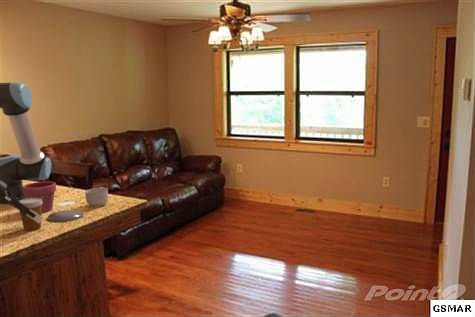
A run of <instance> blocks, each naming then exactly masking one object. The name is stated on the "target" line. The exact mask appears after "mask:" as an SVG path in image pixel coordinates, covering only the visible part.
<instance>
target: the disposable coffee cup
mask: <svg viewBox="0 0 475 317" xmlns="http://www.w3.org/2000/svg"><path fill="white" fill-rule="evenodd" d="M19 202H21V203H22V204H23V205H25V206H26V207H27V208H29V209H31V210H33V211H34V212H36V213H37V214H39V215H40V216H42V213H41V212H42V203H43V202H42V200H41V199H40V198H28V199H23V200H20V201H19ZM25 210H26V209H25ZM25 210H24V211H25ZM19 214H20V218H21V223H22V225H23V230H24V231H25V232H32V231H37V230H40V229H41V228H42V221H41V222H40V223H38V222H36V221H34V220H33V219H31V218H30V217H28V216H27V215H25V216H23V213H22V212H21V211H19Z"/></svg>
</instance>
